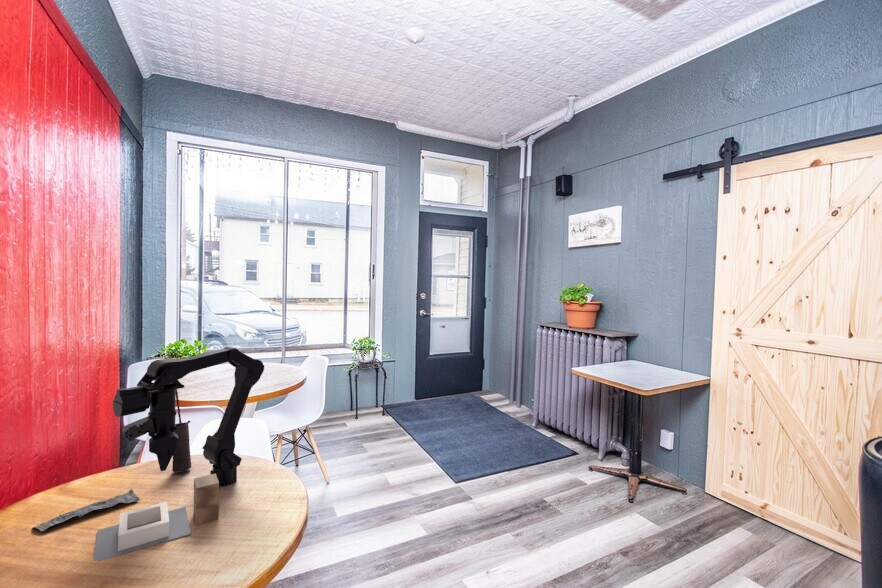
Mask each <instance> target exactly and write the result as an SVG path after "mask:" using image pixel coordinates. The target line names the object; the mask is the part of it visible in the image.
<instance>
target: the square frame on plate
mask: <svg viewBox="0 0 882 588" xmlns="http://www.w3.org/2000/svg"><path fill="white" fill-rule="evenodd" d="M168 508H169V507H168V501H164V502H160V503H156V504H153V505H149V506H144V507H141V508H140V507H139V508H135V509H132V510H129V511H128V510H127V511H125V512H120V514H119V523H118V524H115V525H111V526H108V527H105V528H104V527H103V528H100V529H98V530H97V533H96V539H95V546H94V551H93V558H92V561H93V562H101V561H104V560H108V559H112V558H115V557H118V556H122V555H126V554H128V553H129V554H130V553H133V552H136V551H140V550H144V549H147V548H151V547H155V546H157V545H161V544H165V543H168V542H169V543H170V542H171V541H175V540H179V539H182V538H186V537H189V536H191V535H192V533H191V529H190V528H191V527H190V523H189V517H188V513H187V507H186V506H183V507H179V508H175V509H170V510H169V509H168Z"/></svg>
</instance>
